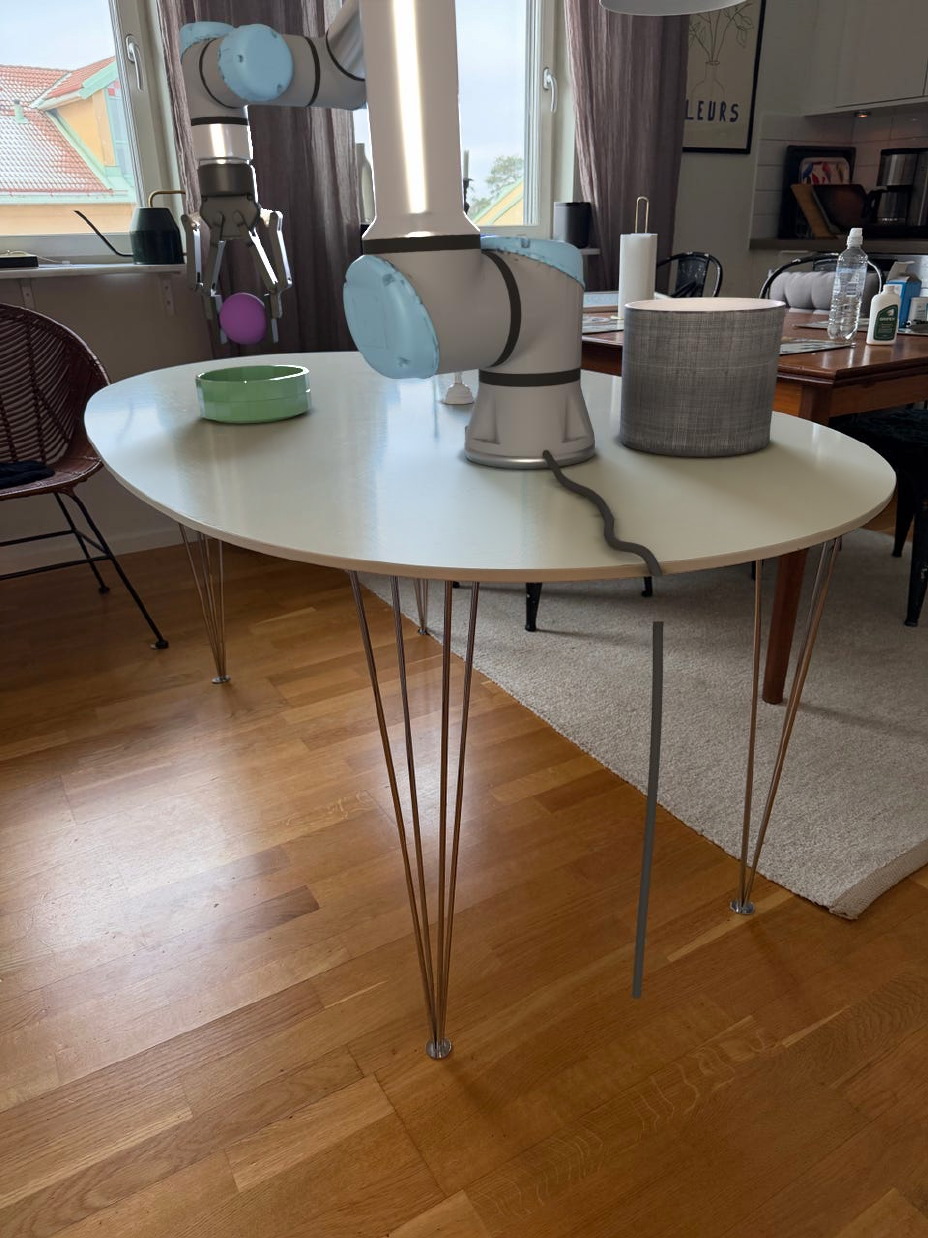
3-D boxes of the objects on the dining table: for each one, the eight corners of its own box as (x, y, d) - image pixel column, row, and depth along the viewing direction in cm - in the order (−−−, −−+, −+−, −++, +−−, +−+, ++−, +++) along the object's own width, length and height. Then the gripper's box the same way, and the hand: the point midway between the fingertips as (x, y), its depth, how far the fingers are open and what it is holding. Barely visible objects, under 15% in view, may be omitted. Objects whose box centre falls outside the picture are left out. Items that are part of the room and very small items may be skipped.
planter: (603, 428, 112) (608, 300, 105) (735, 422, 113) (748, 295, 106) (641, 462, 96) (649, 313, 89) (795, 454, 97) (814, 306, 90)
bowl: (298, 424, 120) (294, 380, 118) (186, 426, 121) (179, 383, 119) (321, 402, 135) (317, 363, 133) (220, 405, 136) (214, 366, 134)
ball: (265, 347, 121) (259, 294, 118) (216, 347, 121) (209, 295, 118) (277, 340, 127) (271, 290, 124) (230, 341, 127) (224, 291, 125)
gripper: (304, 163, 117) (320, 337, 127) (162, 167, 118) (189, 340, 128) (291, 159, 111) (309, 344, 120) (141, 164, 112) (171, 347, 121)
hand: (247, 342), depth 124 cm, fingers closed on ball, 7 cm apart
